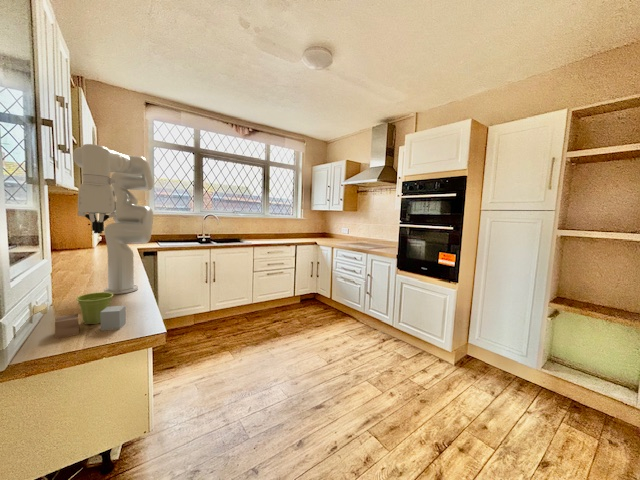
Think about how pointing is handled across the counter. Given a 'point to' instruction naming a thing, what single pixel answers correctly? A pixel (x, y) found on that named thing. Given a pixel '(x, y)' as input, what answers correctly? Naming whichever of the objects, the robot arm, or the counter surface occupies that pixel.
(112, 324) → the slate block
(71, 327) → the walnut block
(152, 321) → the counter surface
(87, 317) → the plant pot
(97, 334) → the counter surface
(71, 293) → the counter surface
